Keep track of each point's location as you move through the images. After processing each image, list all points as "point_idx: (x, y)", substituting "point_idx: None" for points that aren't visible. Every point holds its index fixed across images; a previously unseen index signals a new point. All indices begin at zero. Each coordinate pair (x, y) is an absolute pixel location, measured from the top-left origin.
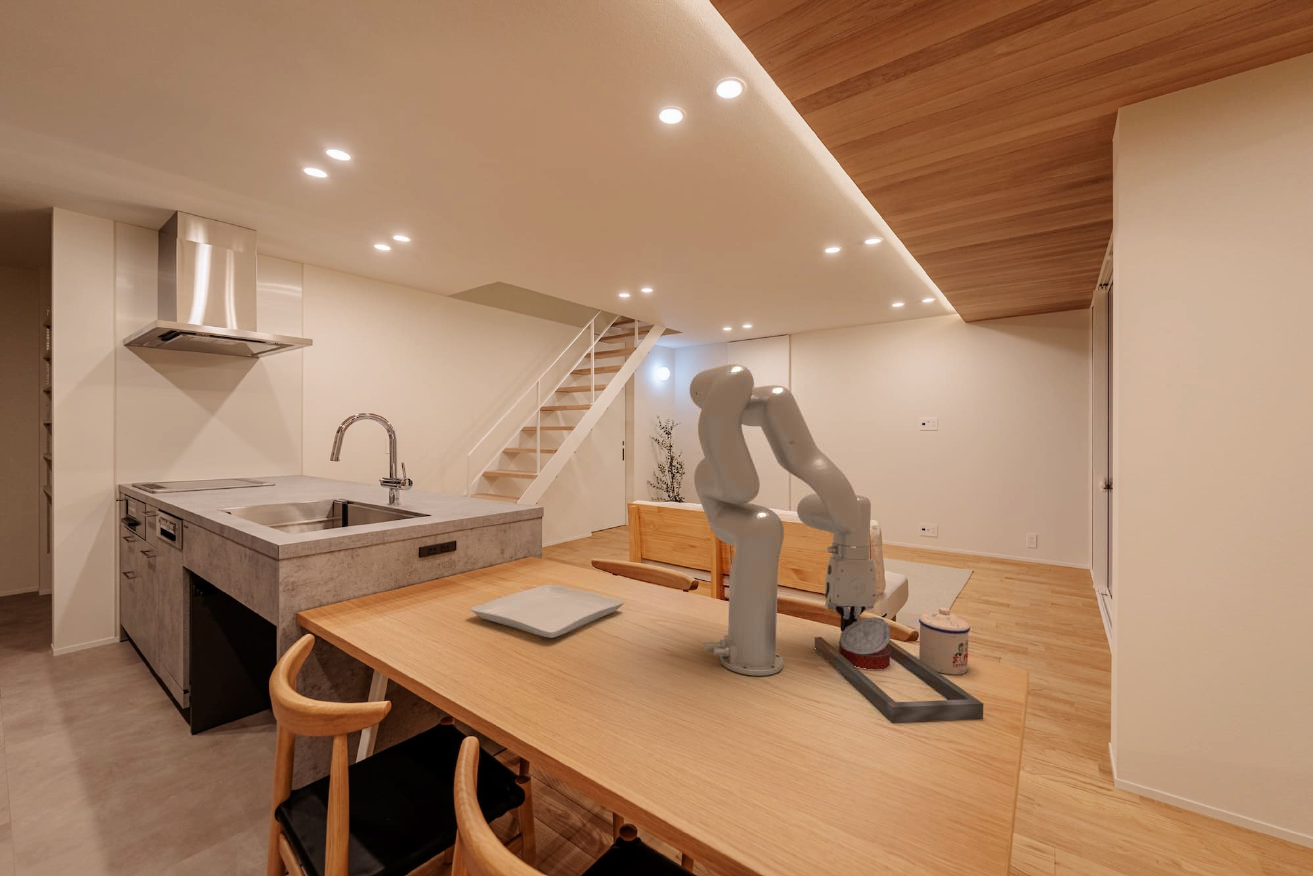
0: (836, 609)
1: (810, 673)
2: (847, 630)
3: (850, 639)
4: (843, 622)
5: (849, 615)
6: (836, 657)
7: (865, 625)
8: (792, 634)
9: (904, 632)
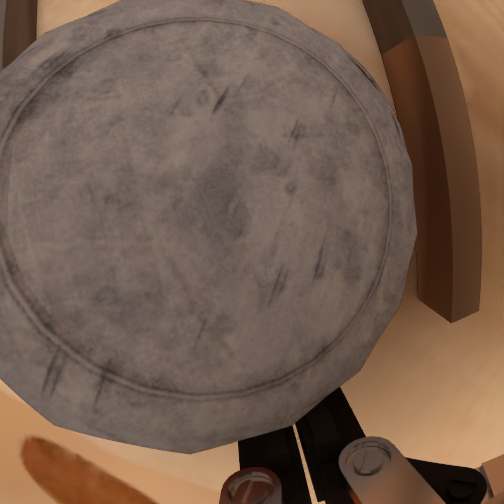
0: (478, 477)
1: (489, 41)
2: (361, 325)
3: (360, 198)
4: (359, 431)
5: (347, 476)
6: (443, 37)
7: (195, 340)
8: (451, 408)
9: (30, 474)
